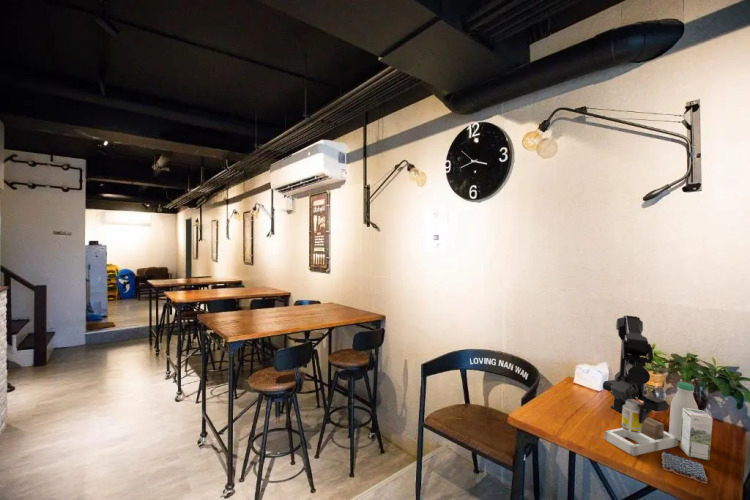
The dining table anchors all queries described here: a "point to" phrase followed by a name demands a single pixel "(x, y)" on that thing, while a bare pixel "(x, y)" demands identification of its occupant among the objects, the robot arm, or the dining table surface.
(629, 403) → the supplement bottle
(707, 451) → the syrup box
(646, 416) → the robot arm
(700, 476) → the woven mat
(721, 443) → the dining table surface
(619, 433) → the grey divided tray
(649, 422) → the walnut block
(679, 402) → the milk bottle
